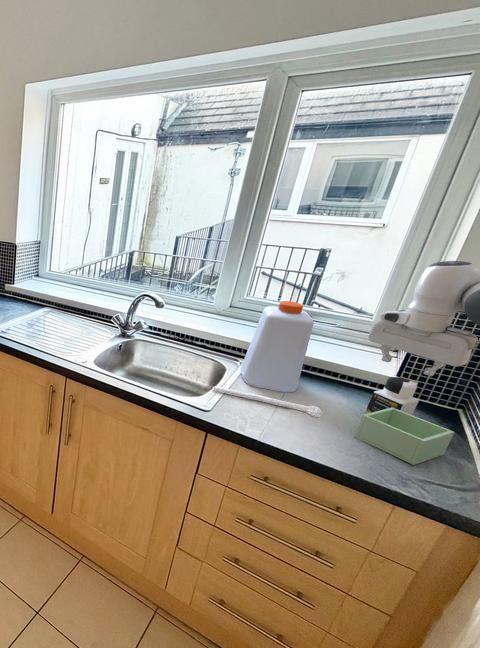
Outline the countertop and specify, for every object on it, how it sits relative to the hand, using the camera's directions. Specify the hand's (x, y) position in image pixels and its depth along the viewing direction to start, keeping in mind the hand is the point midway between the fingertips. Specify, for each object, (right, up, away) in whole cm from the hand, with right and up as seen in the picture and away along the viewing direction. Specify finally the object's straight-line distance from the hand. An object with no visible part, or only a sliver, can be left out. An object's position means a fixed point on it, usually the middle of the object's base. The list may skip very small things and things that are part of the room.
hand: (406, 367), depth 117 cm
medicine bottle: (0, -15, +5) cm, 16 cm away
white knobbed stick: (-32, -12, +11) cm, 36 cm away
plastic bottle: (-21, -7, +26) cm, 34 cm away
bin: (-11, -20, -8) cm, 24 cm away
